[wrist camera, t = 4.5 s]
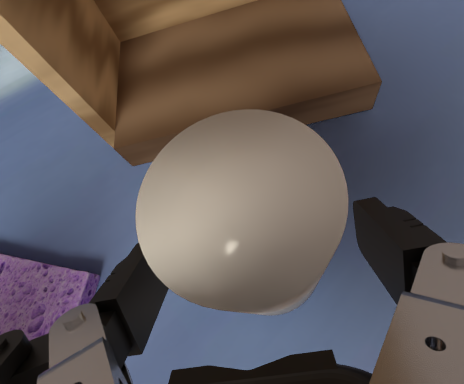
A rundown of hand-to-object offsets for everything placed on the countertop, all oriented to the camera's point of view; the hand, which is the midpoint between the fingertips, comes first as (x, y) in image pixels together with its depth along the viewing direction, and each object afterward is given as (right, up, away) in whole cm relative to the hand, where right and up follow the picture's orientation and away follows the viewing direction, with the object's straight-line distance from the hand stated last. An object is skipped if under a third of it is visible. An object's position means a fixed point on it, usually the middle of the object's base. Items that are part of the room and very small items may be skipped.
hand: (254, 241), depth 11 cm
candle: (+1, -2, +5) cm, 6 cm away
